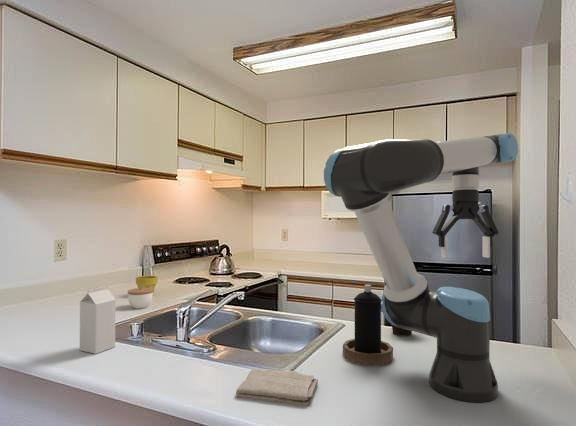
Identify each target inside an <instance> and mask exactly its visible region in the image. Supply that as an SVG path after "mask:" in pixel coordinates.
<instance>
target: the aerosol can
mask: <svg viewBox="0 0 576 426" xmlns="http://www.w3.org/2000/svg"><path fill="white" fill-rule="evenodd" d="M363 288H364V291H362V292H360V293H358V294H357V295H356V296H355V297H354V298H353V300H354V339H355V349H354V351H357V352H362V353H382V352H381V341H382V308H381V304H382V303H383V301H382V300H381V299H382V298H380V296H379V295H378V294H376V293H374V292H372V284H364V287H363Z"/></svg>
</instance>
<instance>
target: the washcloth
mask: <svg viewBox="0 0 576 426" xmlns="http://www.w3.org/2000/svg"><path fill="white" fill-rule="evenodd" d="M318 383H319V380H318V378H315V375H312V374H309V375H308V374H303V373H299V372H297V371H296V370H290V371H288V370H279V369H270V368H269V369H268V368H267V369H266V368H253V369H251V370H250V371H249V373H248V375H247V377H246V379H245V380H244V381H243V382H241V384H240V385H239V386H238V388H236V391H235V395H236V397H237V398H243V399H253V400H260V401H267V402H268V401H270V402H275V403H276V402H278V403H285V404H292V405H300V406H305V407H306V406H309V403H311V402H312V400H313V398H314V394H315V392H316V390H317V387H318Z"/></svg>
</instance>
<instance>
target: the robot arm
mask: <svg viewBox="0 0 576 426" xmlns="http://www.w3.org/2000/svg"><path fill="white" fill-rule="evenodd" d="M518 153H519V144H518V139H517V137H516V136H515V135H514V134H513V133H511V132H506V133H498V134H492V135H485V136H484V135H483V136H476V137H469V138H467V137H466V138H460V139H454V140H453V139H451V140H440V141H434V140H432V139H428V138H427V139H426V138H422V139H382V140H377V141H373V142H367V143H362V144H357V145H348V146H347V145H346V147H343V148H339V149H337V150H334V152H332V153H330V155H329V157H328V158H327V160H326V161H325V167H324V169H323V182H324V185H325V188H326V189H327V191H328V192H329V193H330V194H331V195H334V196H335V197H338V198H341V199H342V202H343V204H344V206H345V208H346V209H347V210H348V211H351V212H354V214H355V216H356V219H357V221H358V223H359V226H360V227H361V230H362V232H363V234H364V237H365V239H366V241H367V244H368V246H369V249H370V252H372V255H373V258H374V260H375V262H376V264H377V267H378V269H379V272H380V273H381V276H382V278H383V281H384V283H385V285H384V287H383V292H382V295H381V298H380V299H381V300H382V302H381V313H382V314H383V317H384V318H385V319H386V321H387V322H388V323H390V324H391V325H392V324H393V325H395V326H397V327H399V328H402V329H407V330H410V331H412V332H414V333H417V334H422V335H425V336H429V337H432V338H435V339H436V354H435V356H434V359H433V362H432V365H431V369H430V371H429V373H428V374H429V375H428V377H429V381H428V382H429V385H430V387H431V388H432V389H433V390H434V391H436V392H437V393H439V394H441V395H444V397H448V398H451V399H455V400H457V401H463V402H471V403H484V402H490V401H494V400H496V398H498V395H499V383H498V381H497V378H496V374H495V371H494V369H493V367H492V363H491V359H490V344H491V343H490V340H491V339H490V335H491V332H490V331H491V330H490V329H491V322H490V321H491V313H490V311H491V310H490V303H489V300H488V299H487V298H486V297H485V296H484V295H482V294H481V293H478V292H477V291H473V290H470V289H466V288H461V287H455V286H440V287H439V288H438V289H437V290H433V289H431V288H430V286H429V283H428V281H427V279H426V277H425V276H424V275H422V274H420V273H418V272H417V269H416V266H415V264H414V262H413V259H412V257H411V255H410V254H411V253H410V252H409V249H408V246H407V244H406V242H405V240H404V237H403V234H402V231H401V229H400V226H399V224H398V222H397V218H396V216H395V213H394V211H393V209H392V206H391V203H390V201H389V198H390V196H391V193H396V192H399V191H403V190H406V189H409V188H413V187H416V186H420V185H423V184H427V183H430V182H433V181H435V180H437V178H439V177H440V176H441V175H442V176H443V175H446V174H451V173H452V174H451V175H452V179H451V182H452V189H453V191H452V194H451V195H452V196H451V197H452V198H451V199H452V205H451V204H443V205H442V208H441V213H440V215H439V217H438V219H437V222H435V223H436V224H435V225H434V228H433V230H432V234H433V235H436V236H437V237H438V247H440V257H441V258H444V259H448V257H449V254H448V251H449V250H448V249H449V245H448V244H449V242H448V241H449V238H448V236H446V235H447V234H448V233H449V232H450V231H451V229H452V228H453V226H455V224H456V223H457V222H458V221H459V220H471V221H473V222H474V224H475V225H476V226H477V227H478V228H479V230H480V231H481V232H482V233H483V235H484V236H483V235H482V237H481V238H482V242H481V243H482V250H481V251H482V257H483V258H488V259H489V258H491V247H493V237H495V236H496V235H498V234H499V230H498V227H497V226H496V223H495V222H494V219H493V217H492V215H491V214H490V209H489V205H488V204H481V205H479V200H480V193H479V192H480V191H479V190H478V189H479V187H480V176H479V175H480V174H479V173H480V172H479V167H482V166H483V167H484V166H487V165H488V166H489V165H493V164H504V163H508V162H513V161H514V160H515V159H517V157H518ZM451 212H452V215H451V216H450V218H449V219H448V216H449V215H450V213H451ZM479 212H480V213H481V216H480V214H479ZM481 217H482V218H483V219H482V218H481ZM483 220H484V221H483ZM446 221H447V222H446Z"/></svg>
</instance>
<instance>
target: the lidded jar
mask: <svg viewBox="0 0 576 426" xmlns="http://www.w3.org/2000/svg"><path fill="white" fill-rule="evenodd" d="M153 296H154V294H153V289H151V288H142V286H139V288H138V287H137V288H132V289H128V290H127V298H128V303H129V305H130V306H131V307H132V308H133V309H136V310H141V309H146V308H148V307H149V306H150V305H151V303H152V301H153V298H154V297H153Z"/></svg>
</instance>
